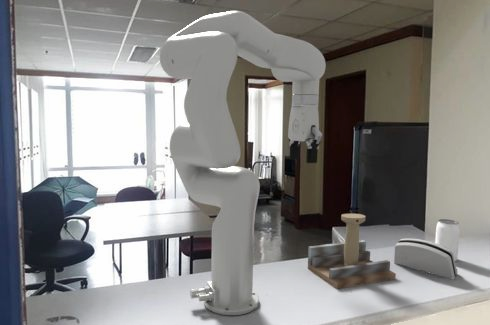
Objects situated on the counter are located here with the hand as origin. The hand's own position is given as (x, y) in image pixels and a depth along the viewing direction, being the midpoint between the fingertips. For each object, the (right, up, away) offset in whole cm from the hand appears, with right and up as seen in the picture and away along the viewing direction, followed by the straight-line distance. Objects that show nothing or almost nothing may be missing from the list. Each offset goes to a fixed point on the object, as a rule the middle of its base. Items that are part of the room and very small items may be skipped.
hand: (302, 160), depth 112 cm
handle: (+12, -30, -5) cm, 33 cm away
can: (+46, -31, +8) cm, 56 cm away
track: (+13, -31, -5) cm, 34 cm away
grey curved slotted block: (+35, -32, -1) cm, 47 cm away
